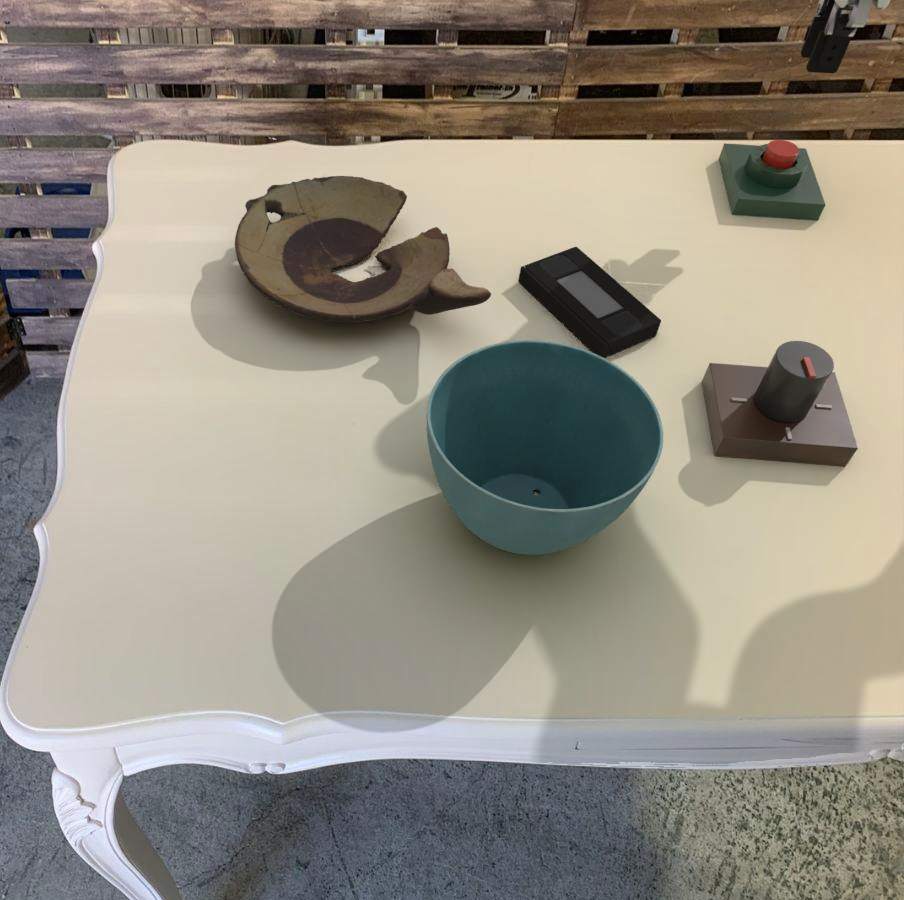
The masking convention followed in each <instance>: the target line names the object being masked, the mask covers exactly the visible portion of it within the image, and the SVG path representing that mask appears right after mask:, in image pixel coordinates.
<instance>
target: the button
mask: <svg viewBox="0 0 904 900" xmlns="http://www.w3.org/2000/svg"><path fill="white" fill-rule="evenodd" d="M767 144H768V145H767V148H766V150H765V153H764V155H763V158H762V161H763V162H765V163H766V164H767V165H769V166H772V167H775V168H777V169H789V168H792V166H793V165H794V162H795V160H796V158H797V155H798V153H799V148H800V147H798V145H796V144H795V143H793V142H791V141H790V140H784V139H774V140H770V141H769V142H768V143H767Z"/></svg>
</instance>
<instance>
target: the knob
mask: <svg viewBox="0 0 904 900" xmlns="http://www.w3.org/2000/svg"><path fill="white" fill-rule="evenodd" d="M767 367H768V368H767V370H766V372H765V374H764V376H763V378H762V380H761V382H760V384H759V386H758V388H757V390H756V392H755V395H754V401H755V404H756V406H757V408H758V409H759V410H760V411H761V412H762V413H763V414H764V415H766V416H768V417H769V418H771V419H774V420H777V421H780V422H797V421H800V420H802V419H803V418H805V417H806V416H807V414H808V413H809V411H810V409H811V407H812V406H813V404H814V402H815V401H816V399H817V397H818V395H819V394H820V392H821V390H822V388H823V387H824V385H825V383H826V382H827V380H828V378H829V376H830V375H831V373H832V372H834V368H835V364H834V360H833V358H832V356H831V355H830V353H829V352H828V351H826V350H825V349H824V348H822V347H820V346H819V345H818V344H817V345H816V344H814V343H812V342H808V341H805V340H789V341H786V342H784V343H782V344H781V345H779V346H778V347H777V349H776V350H775V352H774V355H773V356H772V359H771V360H770V362H769V365H768V366H767Z"/></svg>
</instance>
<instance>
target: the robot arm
mask: <svg viewBox="0 0 904 900" xmlns="http://www.w3.org/2000/svg"><path fill="white" fill-rule="evenodd" d="M890 3H891V0H819V1H818V4H817V6H816V9H815V15H816V16H813V19H812V22H811V24H810V26H809V29H808V32H807V35H806V37H805V40H804V42H803V44H802V48H801V50H800V56H801V57H802V58H804V59H805V58H806V59H808V61H807V64H806V66H805V69H806V71H807V72H808V73H818V74H835V73H837V72H838V71H839V68H840V66H841V64H842V61H843V59H844V57H845V54H846V52H847V49H848V47H849V44H850V42H851V40H852V38H853V37H854V36H855V34H856V32H857V30H858V29H860V28H864V27H865V26H866V24H867V22H868V19H869V15H870V11H871V7H872V4H873V5H874V7H875V9H877V11H883V10H885V9H886V8H887V7H888V6H889V4H890ZM847 11H851V12H849V13H847Z"/></svg>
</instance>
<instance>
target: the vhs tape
mask: <svg viewBox="0 0 904 900" xmlns="http://www.w3.org/2000/svg"><path fill="white" fill-rule="evenodd" d="M518 283H519V284H520V285H521V286H523V287H524V288H525V289H526V290H527V291H528V292H529V293H530V294H531V295H532V296H533V297H534V298H535V299H536V300H537V301H538V302H539V303H540V304H542V306H543V307H544V308H546V309H547V310H548V311H549V312H550V313H551V314H552V315H553V316H554V317H555V318H556V319H557V320H558V321H559V322H560V323H561V324H562V325H563V326H564V327H565V328H567V330H569V331H570V332H571V333H572V334H573V336H575V337H576V338H577V339H578V340H579V341H580V342H581V343H582V344H583V345H584V346H585V347H587V349H588V350H589V351H590V352H592V353H594V354H597V355H599V356H601V357H603V358H605V359H606V358H607V357H610V356H612V355H614V354H618V353H619V352H622V351H624V350H627V349H629V348H632V347H634V346H636V345H638V344H641V343H643V342H645V341H648V340H650V339H653V338H655V337H656V336H657V334H658V331H659V329H660V326H661V323H662V319H661V318H660V317H658V316H657V315H656V314H655V313H654V312H653V311H651V310H650V309H649V308H648V307H647V306H646V305H644V303H642V302H641V301H640V300H639V299H638V298H637V297H635V296H634V294H632V293H631V292H630V291H629V290H627V289H626V288H625V287H624V286H622V285H621V283H619V282H618V281H617V280H616V279H615V278H613V277H612V276H611V275H610V274H609V273H608V272H606V270H604V269H603V268H602V267H601V266H600V265H599V264H597V262H595V261H594V260H593V259H592V258H591V257H589V256H588V255H587V254H586V253H585V252H584V251H583V250H581V249H580V248H579V247H578V246H573V247H571V248H568V249H566V250H563V251H560V252H557V253H554V254H551V255H549V256H546V257H544V258H541V259H538V260H535V261H533V262H530V263H528V264H524V265H522V266H520V270H519V274H518Z"/></svg>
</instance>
